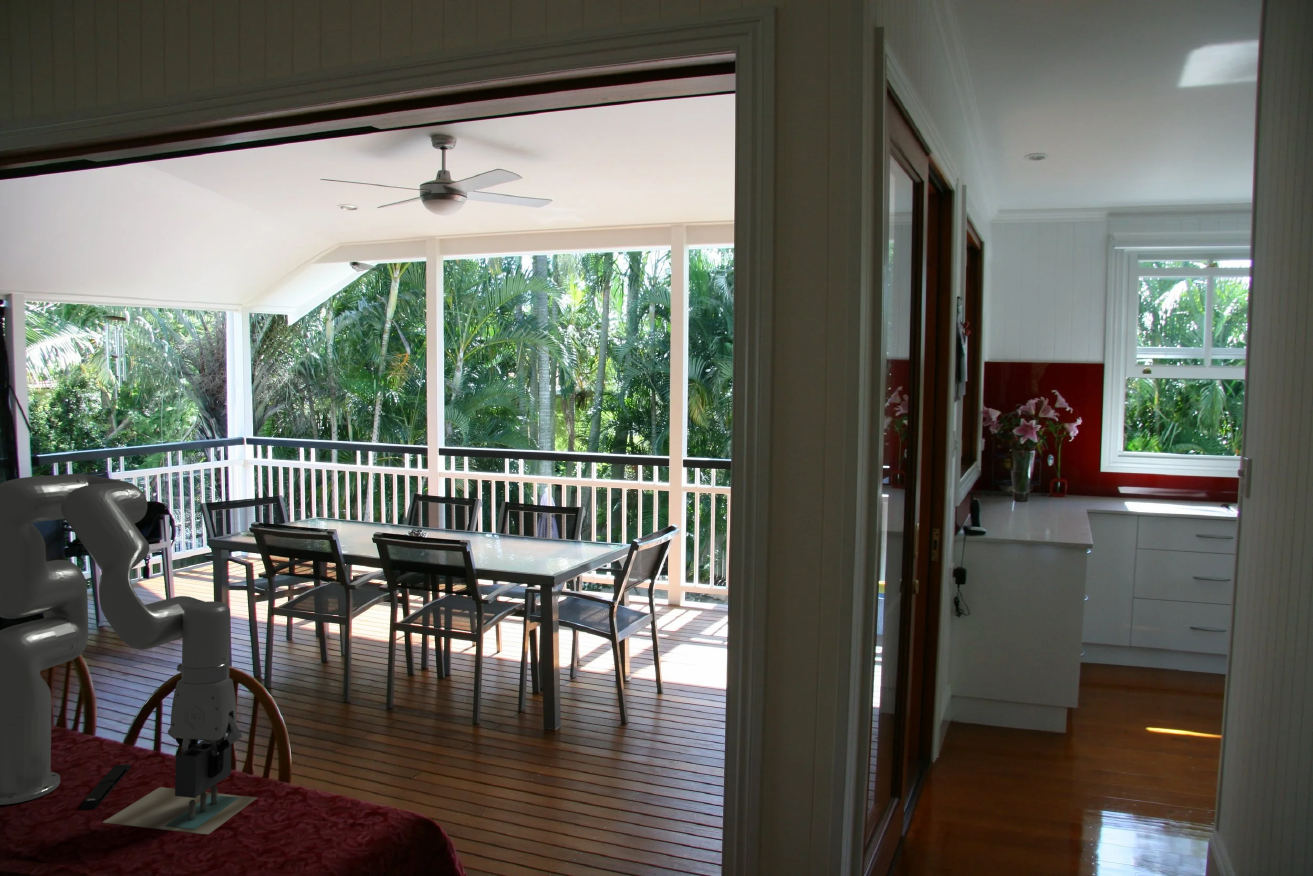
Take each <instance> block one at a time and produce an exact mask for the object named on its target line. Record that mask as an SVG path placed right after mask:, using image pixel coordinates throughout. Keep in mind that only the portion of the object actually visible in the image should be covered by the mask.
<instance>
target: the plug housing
mask: <svg viewBox="0 0 1313 876" xmlns="http://www.w3.org/2000/svg"><path fill="white" fill-rule="evenodd" d="M227 738H229V736H228V735H226V739H227ZM218 745H219V742H218ZM210 755H212V754H211V747H210V741H203V740H200V742H198V744H196V745H194V746H193V747H191V748H189V749H187V750H186V751H184V752H182V751H181V752H180V753H179V754H177V755H175V770H174V771H175V772H174V773H175V776H174V777H175V781H174V784H175V785H174V789H175V796H180V797H190V798H196V797H197V796H199V795H200V794H202V793H203V792H207V791H208V790H209V789H210V788H211V787H213V786H214V785H216V786H217V784H219V783H220V782H221V781H223V780H225V779H226V778H228V777H229V776H231V774H232V744H231V745H230V746H229V747H228V748H227V749H226V750H225V751H224V764H223V770H222V772H221V773H220V774H218V775H216V776H215V777H213V778H209V777H208V768H209V756H210Z"/></svg>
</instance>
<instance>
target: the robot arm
mask: <svg viewBox="0 0 1313 876" xmlns="http://www.w3.org/2000/svg"><path fill="white" fill-rule="evenodd" d="M147 512H148V500H147V497H146V495H145V493H144V492H143V491H142V489H140V488H139V487H138V486H137V485H135V484H133V483H132V482H129V481H126V480H120V479H114V478H108V477H104V476H102V477H101V476H97V475H91V474H87V473H86V474H85V473H68V474H67V473H66V474H54V475H53V474H52V475H39V476H36V475H35V476H27V477H26V476H24V477H20V478H19V477H18V478H13V479H10V480H6V481H4V482H2V483H0V618H2V619H12V620H13V619H20V618H26V617H30V616H35V615H38V614H42V613H43V618H40V619H36V620H30V621H27V622H23V623H20V624H15V625H11V626H9V627H8V626H7V627H5V628H3V629H1V630H0V806H3V805H13V804H19V803H25V802H27V801H28V802H29V801H31V800H35V799H39V798H41V797H43V796H45V795H47V794H49V793H51V792H53V791H54V790H56V789H57V788H58V787H59V786H60V784H61V776H60V774H59V773H57V772H55V771H52V770H51V768H52V767H51V761H52V759H51V758H52V757H51V756H52V755H51V754H52V753H51V752H52V750H51V749H52V747H51V746H52V693H51V689H50V687H49V684H47V683H46V681H45V679H43V677H42V675H41V671H44V670H46V669H49V668H52V667H56V666H58V665H61V664H65V663H68V662H70V661H73V660H75V659H77V658H78V657H79V656H81V655H82V654H83V652H84V651H85V649H86V647H87V645H88V642H89V641H88V640H89V609H88V608H89V607H88V605H89V603H88V586H87V580H86V577H85V575H84V572H83V571H82V569H81V568H80V567H79V566H78V565H77V564H76V563H74V562H72V561H70V560H64V559H55V560H49V561H47V555H46V554H47V553H46V550H47V549H46V542H45V539H44V536H42V533H41V532H40V531H39V529H38V528H37V527H36V526H35V525H34V524H35V523H39V522H40V523H41V522H48V521H56V520H65V521H66V522H67V524H68V525H69V527H70V528H71V530H72V531H73V532H74V534H75V535H76V537H77V538H78V540H79V541H80V543H81V544H82V545H83V547H84V548H85V549H86V551H87V553H89V555H90V556H91V558H92V559H93V561H94V562H95V564H96V565H97V566H98V568H99V569H100V571H101V573H100V577H99V578H100V579H99V584H98V599H99V605H100V609H101V612H102V614H103V616H104V617H105V619H106V621H107V622H108V624H109V625H110V627H111V628H112V629H113V631H114V632H115V633H116V635H117V636H118V638H120V639H121V641H122V642H123V643H125V644H126V645H127V646H128V647H131V648H132V649H135V650H142V651H144V650H149V649H152V648H156V647H159V646H161V645H165V644H167V643H171V642H174V641H178V640H182V642H181V645H182V646H181V648H182V649H181V663H179V664H178V665H177V666H176V671H177V672H180V673H181V679H179V680H177V682H176V685H175V688H174V692H173V697H172V705H171V712H170V725H169V726H170V727H169V729H168V730H167V735H168V736H170V737H171V738H172V739H173V740H175V742H176V743H177V744H178V745H179V747H180V748H181V749H180V751H181V753H182V752H184V751H186V750H187V749H189V748H191V747H193V746H194V745H196V744H198V743H199V741H210V747H211V754H212V755H210V756H209V768H208V777H209V778H213V777H215V776H216V775H218V774H220V773H221V772H222V770H223V764H224V751H225V750H226V749H227V748H228V747H229V746H230V745H231V746H232V744H234V743H236V742H238V741H239V740H241V739H242V737H243V734H242V733H241V732H240V729H239V727H238V726H237V703H236V702H237V701H236V693H235V692H236V691H235V686H234V682H233V679H232V678H230V657H231V656H230V653H231V652H230V649H231V609H230V606H229V605H228V604H227V603H225V602H222V601H216V600H215V601H212V600H211V601H204V600H202V599H197V598H195V597H193V596H192V597H191V596H186V595H179V596H178V595H177V596H173V597H171V598H166V599H162V600H159V601H154V602H152V603H147V604H144V602H143V601H142V600H141V599H140V597H139V596H138V594H137V593H136V591H135V589H134V587H133V585H132V582H131V572H132V569H134V568H135V567H136V566H138V565H139V564H140V563H141V562H142V561H144V559H146V557H147V556H148V554H149V553H150V552H149V551H150V543H149V542H148V541H147V540H146V539H147V538H145V536H144V535H143V534H142V532H141V531H140V530H139V528H138V527H137V526H136V523H138V522H141V521H142V520H143V519H144V517H145V516H146V514H147ZM226 734H228V737H229V738H227V739H226V736H227V735H226ZM218 742H219V745H218Z"/></svg>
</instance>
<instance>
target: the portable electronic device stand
mask: <svg viewBox="0 0 1313 876" xmlns="http://www.w3.org/2000/svg"><path fill="white" fill-rule="evenodd" d="M131 768H132V765H131V764H130V763H128V764H127V763H126V764H125V763H124V764H115V765H114V766H113V767H112V768H110V770H109V771H108V772H107V774H106V775H104V777H103V778H102V779H101V780H100V781H99V783H98V784H97V785H96V786H95V787H94V788H93V790H91V792H89V794H88V795H87V796H86V797H85V798H84V799H83V801H82V802H81V806H80V809H81V810H82V811H86V810H95V809H97V808H98V807H99V806H100V803H101V802H103V801H104V800H105V799H106V797H108V795H109V794H110V793H111V791H112V790H113V789H115V787H116V786H117V784H118V783H119V782H120V781H121V780H122V779H123V778H124V776H125V775H126V774H127V773H128V772H129V771H130V769H131Z"/></svg>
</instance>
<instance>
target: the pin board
mask: <svg viewBox="0 0 1313 876" xmlns="http://www.w3.org/2000/svg"><path fill="white" fill-rule="evenodd" d="M257 799H258V797H255V796H248V795H247V796H245V795H238V794H237V795H236V794H226V793H219V792H218V786H217V784H216V785H214V786H213V787H211V789H210V792H208V791H205V792H203V793H202V794H200V795H199V796H197V797H196V798H190V797H180V796H175V788H173V787H172V788H171V787H163V786H161V787H158V788H156V789H154V790H153V791H151V792H150V793H148V794H147V795H145V796H143V797H141V798H140V799H138V800H137V801H135V802H134V803H133V802H132V803H131V804H130V805H128V806H126V807H125V808H123V809H121V810H119V812H117V813H115V814H114V815H112V816H111V817H110V816H109V818H107V819H105V820H103V821H102V824H103V823H104V824H111V825H112V824H113V825H122V826H128V827H138V828H139V827H140V828H146V829H157V830H164V831H165V830H166V831H173V832H182V833H189V834H199V835H210V834H211V833H213V832H214V831H215V830H216V829H218V828H219V827H220V826H222V825H223V824H224V823H226V822H227V821H228V820H230V819H231V818H233V817H234V816H235V815H237V814H238V813H240V812H241V811H242V810H243V809H245V808H246V807H248V805H250V804H251V803H253V802H254V801H256V800H257Z"/></svg>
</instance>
